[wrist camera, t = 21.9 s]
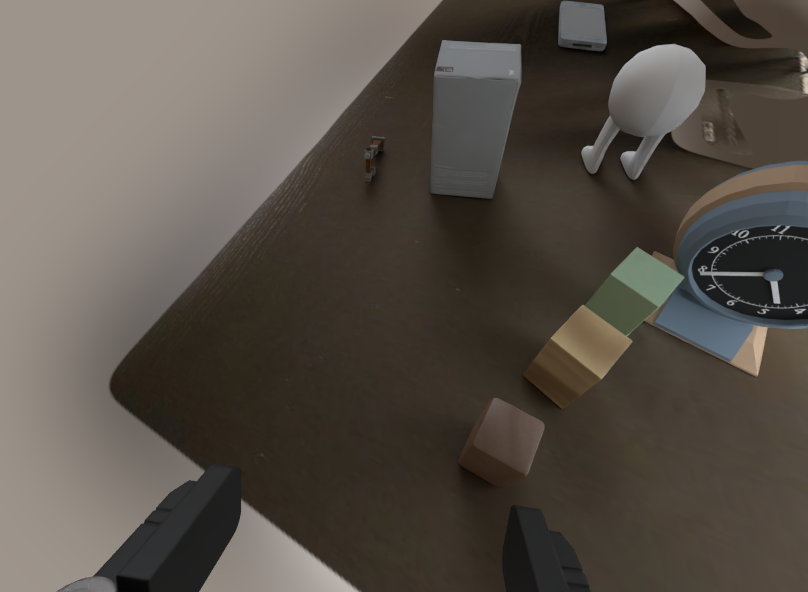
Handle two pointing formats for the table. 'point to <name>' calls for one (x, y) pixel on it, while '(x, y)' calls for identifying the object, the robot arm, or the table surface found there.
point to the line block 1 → (576, 357)
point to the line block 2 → (634, 291)
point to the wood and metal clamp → (376, 146)
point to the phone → (582, 26)
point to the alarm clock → (741, 265)
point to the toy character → (649, 103)
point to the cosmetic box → (472, 115)
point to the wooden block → (502, 444)
